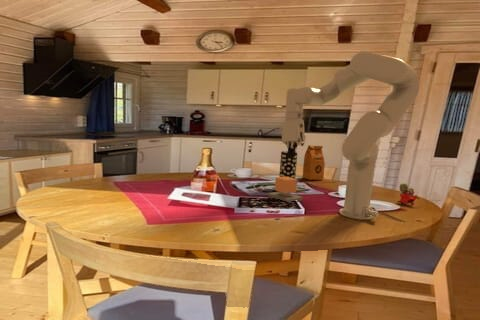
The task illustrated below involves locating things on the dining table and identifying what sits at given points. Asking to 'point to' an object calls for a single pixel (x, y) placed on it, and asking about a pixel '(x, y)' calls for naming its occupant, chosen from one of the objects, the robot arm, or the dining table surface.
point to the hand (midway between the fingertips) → (291, 157)
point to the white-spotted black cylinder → (288, 165)
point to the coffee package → (313, 163)
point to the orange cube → (285, 184)
